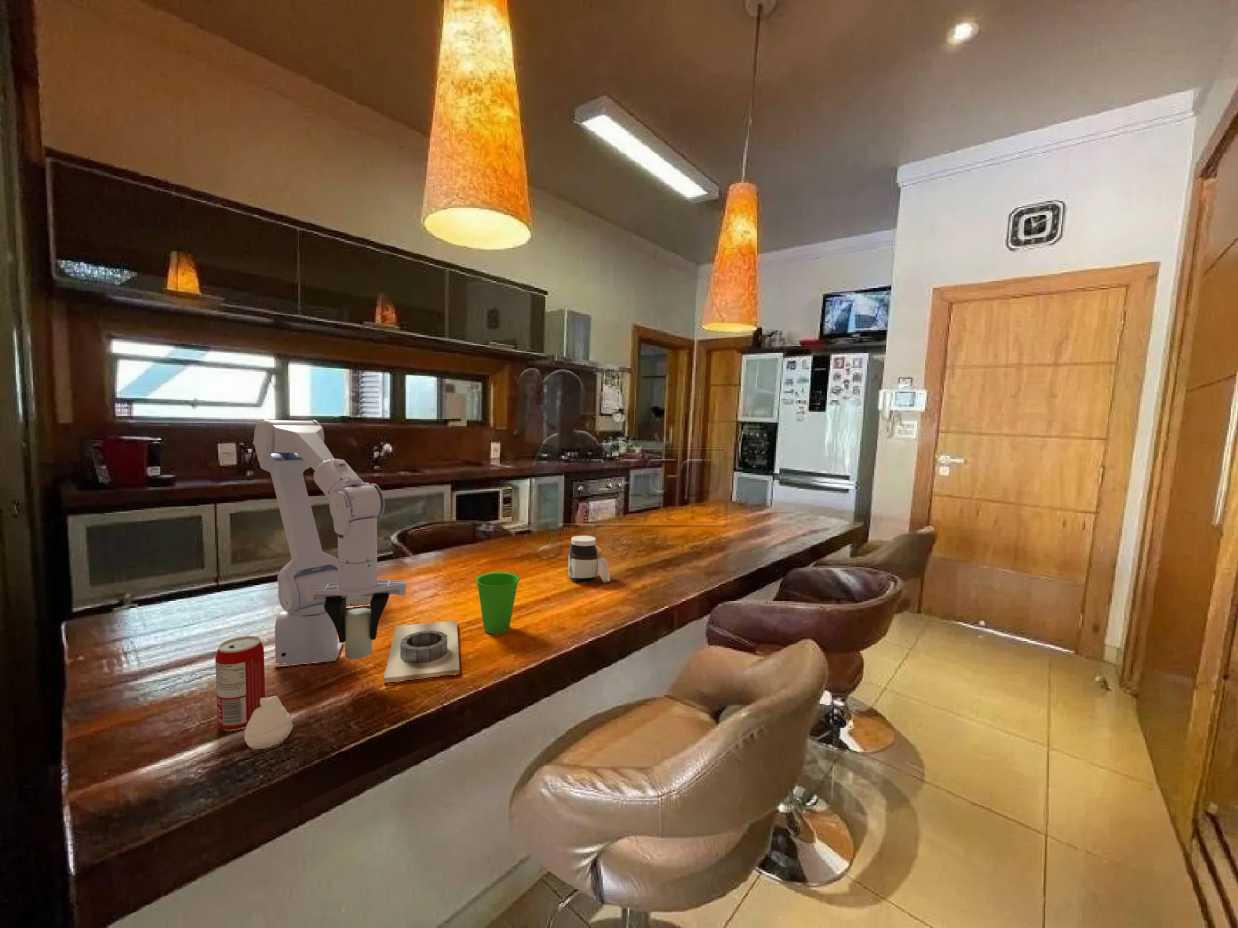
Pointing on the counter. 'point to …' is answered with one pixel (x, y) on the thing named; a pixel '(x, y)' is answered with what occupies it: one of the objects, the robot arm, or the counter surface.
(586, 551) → the spread jar
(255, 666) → the soda can
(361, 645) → the gray peg
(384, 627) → the counter surface
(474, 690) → the counter surface
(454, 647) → the peg holder
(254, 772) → the counter surface
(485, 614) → the cup
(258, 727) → the garlic bulb
